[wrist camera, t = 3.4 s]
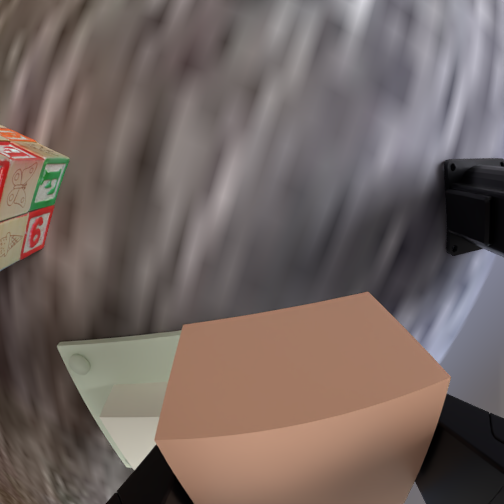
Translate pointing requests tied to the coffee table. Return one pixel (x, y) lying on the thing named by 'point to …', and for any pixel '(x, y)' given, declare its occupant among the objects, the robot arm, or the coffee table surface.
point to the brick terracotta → (301, 406)
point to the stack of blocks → (26, 194)
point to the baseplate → (117, 367)
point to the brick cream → (134, 418)
